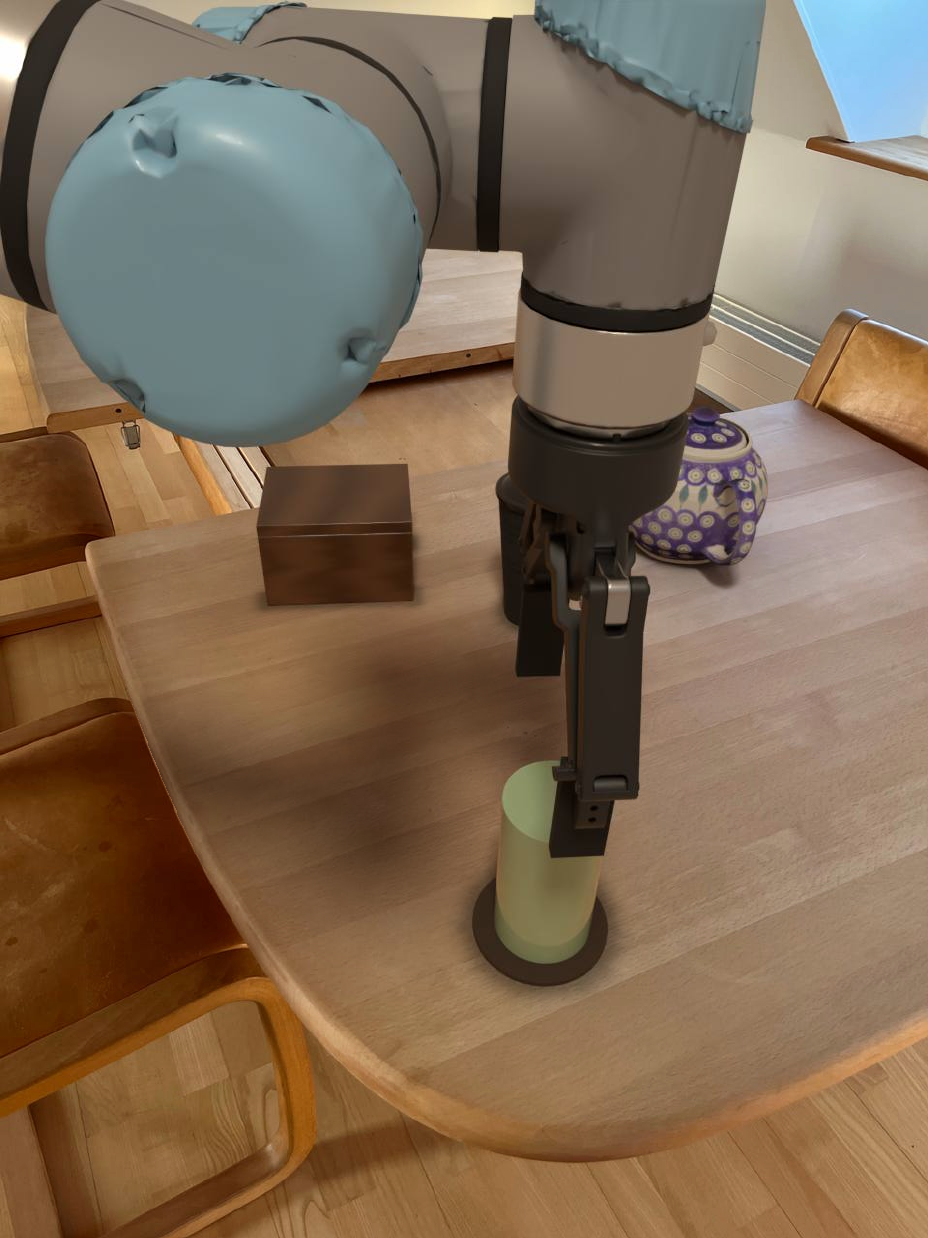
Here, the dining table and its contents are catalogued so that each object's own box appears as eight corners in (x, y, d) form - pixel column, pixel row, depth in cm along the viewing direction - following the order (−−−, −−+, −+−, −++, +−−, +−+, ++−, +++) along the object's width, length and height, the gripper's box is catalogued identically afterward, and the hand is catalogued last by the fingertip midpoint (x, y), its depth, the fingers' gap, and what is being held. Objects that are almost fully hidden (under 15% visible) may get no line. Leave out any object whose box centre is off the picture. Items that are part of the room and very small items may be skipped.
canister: (499, 967, 59) (508, 846, 52) (489, 883, 64) (496, 762, 57) (598, 961, 60) (621, 840, 53) (580, 878, 65) (599, 757, 58)
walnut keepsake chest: (267, 605, 90) (256, 525, 84) (275, 542, 98) (266, 466, 93) (413, 600, 91) (412, 521, 85) (409, 538, 99) (407, 463, 94)
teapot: (798, 603, 92) (839, 466, 82) (648, 615, 89) (673, 477, 80) (706, 477, 111) (731, 355, 102) (581, 484, 109) (595, 361, 100)
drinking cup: (491, 637, 86) (501, 441, 74) (487, 588, 92) (496, 400, 80) (573, 637, 87) (597, 442, 74) (564, 589, 93) (585, 400, 80)
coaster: (479, 991, 59) (479, 987, 58) (466, 872, 66) (467, 868, 65) (620, 981, 59) (621, 978, 59) (593, 865, 66) (593, 861, 66)
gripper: (793, 567, 30) (678, 947, 43) (624, 297, 49) (580, 615, 63) (562, 572, 29) (516, 956, 42) (483, 297, 49) (469, 617, 62)
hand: (554, 753), depth 52 cm, fingers open, 13 cm apart
